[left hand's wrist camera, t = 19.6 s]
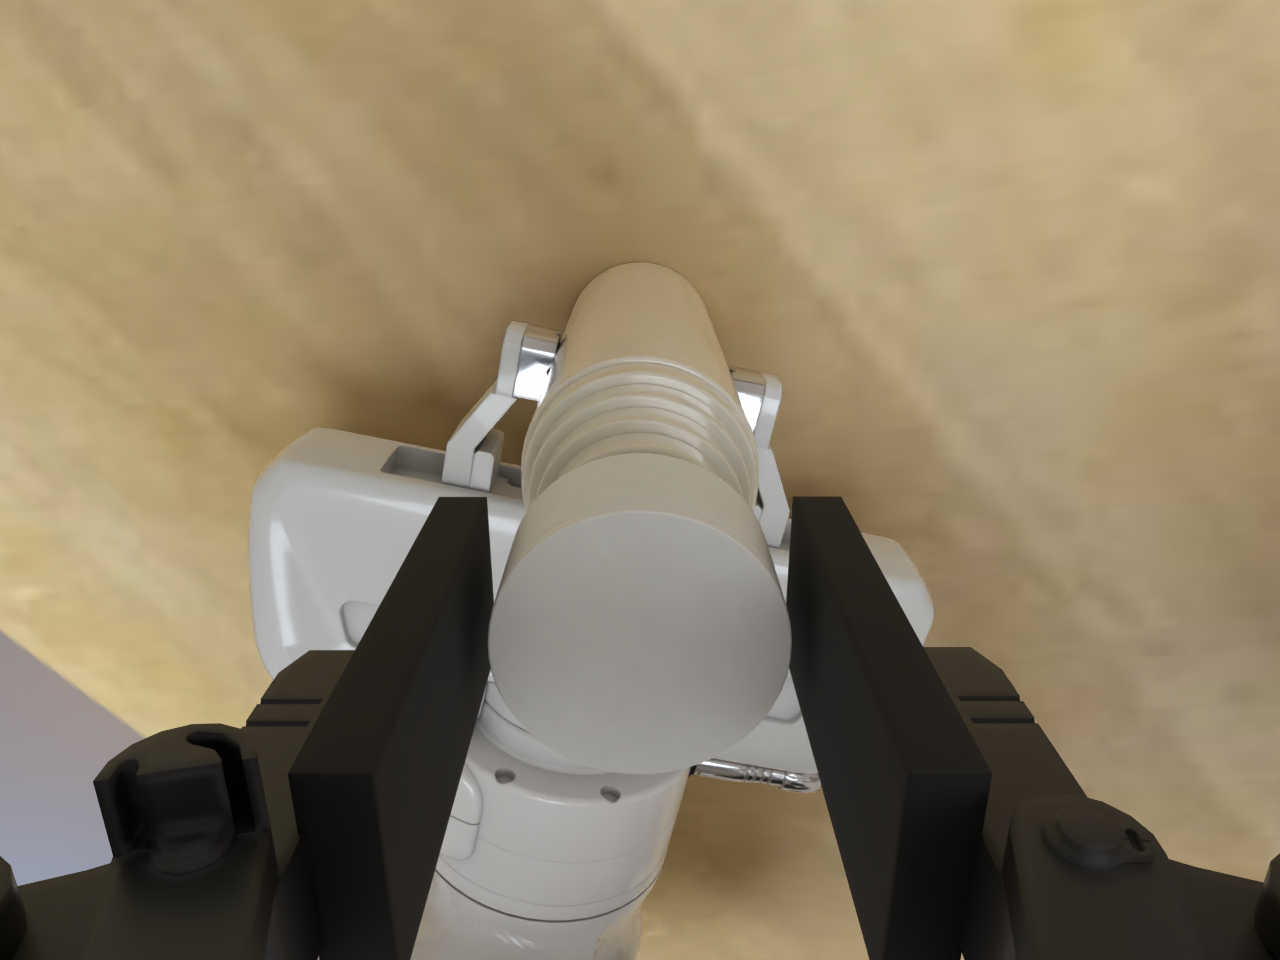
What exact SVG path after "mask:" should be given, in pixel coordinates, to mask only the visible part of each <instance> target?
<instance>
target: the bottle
mask: <svg viewBox="0 0 1280 960" xmlns="http://www.w3.org/2000/svg"><path fill="white" fill-rule="evenodd" d="M630 453H650V454H658V455H666V456H670V457H674V458H678V459H682V460H685V461H688V462H690V463H693V464H696V465H698V466H701V467H702V468H704V469H706V470H708V471H710V472H712V473H713V474H715V475H717V476H718V477H719V478H721V479H722V480H723V481H725V482H726V483H728V484H729V485H730V486H731V487H732V488H733V489H734V490H735V491H736V492H737V493H738V494H739V495H740V496H742V498H743V499H744V500H745V502H746V503H747V504H748V505H749V507H750V508H751V509H752V511H753V512H754V508H755V505H756V499H757V493H758V453H757V446H756V442H755V439H754V435H753V432H752V429H751V426H750V424H749V421H748V418H747V416H746V413H745V410H744V407H743V405H742V402H741V399H740V397H739V394H738V391H737V389H736V386H735V383H734V381H733V378H732V375H731V373H730V370H729V367H728V365H727V362H726V359H725V357H724V354H723V351H722V349H721V346H720V343H719V341H718V338H717V335H716V333H715V330H714V327H713V325H712V322H711V319H710V317H709V314H708V311H707V309H706V306H705V304H704V302H703V300H702V298H701V296H700V295H699V293H698V292H697V291H696V289H695V288H694V287H693V286H692V285H691V284H690V283H689V282H688V281H687V280H686V279H685V278H684V277H682V276H681V275H680V274H678V273H676V272H675V271H673V270H671V269H669V268H666V267H664V266H661V265H657V264H653V263H644V262H635V263H627V264H622V265H619V266H616V267H613V268H611V269H609V270H606V271H605V272H603V273H601V274H600V275H598V276H597V277H596V278H595V279H593V280H592V281H591V282H590V283H589V284H588V285H587V286H586V287H585V288H584V290H583V291H582V292H581V294H580V295H579V297H578V299H577V301H576V303H575V305H574V307H573V310H572V313H571V315H570V318H569V321H568V323H567V326H566V329H565V331H564V334H563V337H562V339H561V342H560V345H559V347H558V350H557V353H556V356H555V358H554V361H553V364H552V366H551V369H550V372H549V374H548V377H547V380H546V382H545V385H544V388H543V390H542V393H541V396H540V399H539V401H538V404H537V407H536V409H535V412H534V415H533V417H532V420H531V423H530V425H529V428H528V431H527V434H526V437H525V440H524V445H523V450H522V459H521V474H522V479H521V485H522V497H523V501H524V506H525V510H526V512H527V510H528V509H529V508H530V506H531V505H532V504H533V502H534V501H535V500H536V499H537V497H538V496H539V495H540V494H541V493H542V492H543V491H544V490H545V489H546V488H548V487H549V486H550V485H551V484H552V483H554V482H555V481H556V480H558V479H559V478H560V477H562V476H563V475H565V474H566V473H568V472H570V471H572V470H574V469H575V468H577V467H579V466H582V465H584V464H587V463H589V462H592V461H594V460H598V459H602V458H605V457H609V456H614V455H622V454H630Z"/></svg>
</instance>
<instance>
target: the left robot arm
mask: <svg viewBox="0 0 1280 960" xmlns="http://www.w3.org/2000/svg"><path fill="white" fill-rule="evenodd" d="M493 605H494V595H493V580H492V565H491V550H490V535H489V520H488V505H487V497H439V498H438V499H437V501H436V503H435V505H434V507H433V509H432V510H431V512H430V514H429V516H428V518H427V520H426V521H425V523H424V525H423V527H422V529H421V530H420V532H419V534H418V536H417V538H416V540H415V541H414V543H413V545H412V547H411V549H410V551H409V552H408V554H407V556H406V558H405V560H404V562H403V563H402V565H401V567H400V569H399V571H398V573H397V574H396V576H395V578H394V580H393V582H392V584H391V585H390V587H389V589H388V591H387V593H386V595H385V596H384V598H383V600H382V602H381V604H380V605H379V607H378V609H377V611H376V613H375V615H374V616H373V618H372V620H371V622H370V624H369V626H368V627H367V629H366V631H365V633H364V635H363V637H362V638H361V640H360V642H359V644H358V646H357V648H356V649H355V650H309V651H308V652H306V653H305V654H304V655H302V656H301V657H299V658H298V659H297V660H295V661H294V662H293V663H291V664H290V665H288V666H287V667H286V668H284V669H283V670H281V671H280V672H279V673H278V674H277V676H276V677H275V679H274V680H273V682H272V683H271V685H270V686H269V688H268V689H267V691H266V692H265V694H264V695H263V697H262V698H261V704H257V706H256V707H255V709H254V710H253V712H252V713H251V715H250V716H249V718H248V719H247V721H246V727H242V728H241V729H239V728H235V727H231V726H228V725H224V724H220V723H219V724H191V725H187V726H183V727H178V728H174V729H170V730H166V731H162V732H159V733H157V734H155V735H152V736H150V737H148V738H146V739H143V740H141V741H139V742H137V743H134V744H132V745H131V746H129V747H128V748H127V749H125V750H124V751H122V752H121V753H120V754H118V755H117V756H115V757H114V758H113V759H111V760H110V761H109V762H108V763H107V764H106V765H105V767H104V768H103V769H102V770H101V772H100V773H99V774H98V776H97V777H96V778H95V779H94V781H93V783H94V787H95V791H96V794H97V798H98V802H99V805H100V809H101V813H102V817H103V820H104V824H105V828H106V831H107V835H108V839H109V842H110V846H111V850H112V854H113V858H112V861H111V863H109V864H106V865H103V866H100V867H96V868H93V869H90V870H86V871H82V872H78V873H73V874H69V875H64V876H60V877H56V878H52V879H47V880H43V881H38V882H34V883H30V884H26V885H21V886H17V884H16V881H15V878H14V875H13V871H12V868H11V865H10V864H8V863H7V862H6V861H5V860H4V859H3V858H2V857H1V856H0V960H317V959H318V956H319V958H320V960H410V959H411V956H412V952H413V948H414V945H415V941H416V937H417V934H418V930H419V927H420V923H421V919H422V916H423V912H424V909H425V905H426V901H427V898H428V894H429V890H430V887H431V883H432V880H433V876H434V872H435V869H436V865H437V861H438V858H439V854H440V851H441V847H442V843H443V840H444V836H445V833H446V829H447V825H448V822H449V818H450V814H451V811H452V807H453V804H454V800H455V796H456V793H457V789H458V786H459V782H460V778H461V775H462V771H463V767H464V764H465V760H466V757H467V753H468V749H469V746H470V742H471V738H472V735H473V731H474V728H475V724H476V720H477V717H478V713H479V710H480V706H481V702H482V699H483V695H484V691H485V688H486V684H487V681H488V677H489V673H490V670H491V667H490V662H489V656H488V642H487V641H488V628H489V621H490V617H491V613H492V608H493ZM786 606H787V610H788V614H789V618H790V622H791V631H792V652H791V661H790V665H789V670H790V673H791V677H792V681H793V684H794V688H795V691H796V695H797V699H798V702H799V706H800V710H801V713H802V717H803V720H804V724H805V728H806V731H807V735H808V739H809V742H810V746H811V749H812V753H813V757H814V760H815V764H816V767H817V771H818V775H819V778H820V782H821V786H822V789H823V793H824V796H825V800H826V804H827V807H828V811H829V814H830V818H831V822H832V825H833V829H834V833H835V836H836V840H837V843H838V847H839V851H840V854H841V858H842V862H843V865H844V869H845V872H846V876H847V880H848V883H849V887H850V890H851V894H852V898H853V901H854V905H855V909H856V912H857V916H858V919H859V923H860V927H861V930H862V934H863V938H864V941H865V945H866V948H867V952H868V956H869V959H870V960H960V958H961V953H962V954H963V957H964V959H965V960H1280V854H1279V855H1277V856H1276V857H1275V858H1274V859H1273V860H1272V861H1271V862H1270V865H1269V868H1268V871H1267V874H1266V878H1265V881H1264V883H1263V882H1258V881H1254V880H1250V879H1245V878H1241V877H1237V876H1232V875H1228V874H1224V873H1219V872H1215V871H1210V870H1206V869H1202V868H1197V867H1193V866H1190V865H1187V864H1183V863H1180V862H1177V861H1173V860H1170V859H1168V857H1167V855H1166V853H1165V852H1164V850H1163V849H1162V847H1161V846H1160V844H1159V843H1158V841H1157V840H1156V838H1155V836H1154V835H1153V834H1152V833H1151V832H1150V831H1148V830H1147V829H1146V828H1145V827H1143V826H1142V825H1141V824H1140V823H1139V822H1137V821H1136V820H1135V819H1134V818H1132V817H1131V816H1130V815H1128V814H1126V813H1124V812H1122V811H1120V810H1118V809H1116V808H1114V807H1112V806H1110V805H1108V804H1106V803H1104V802H1101V801H1098V800H1094V799H1090V798H1088V797H1087V796H1086V794H1085V793H1084V791H1083V790H1082V789H1081V787H1080V786H1079V784H1078V783H1077V781H1076V780H1075V778H1074V777H1073V775H1072V774H1071V772H1070V771H1069V769H1068V768H1067V766H1066V765H1065V763H1064V762H1063V760H1062V759H1061V757H1060V756H1059V754H1058V753H1057V751H1056V750H1055V748H1054V747H1053V745H1052V744H1051V742H1050V741H1049V739H1048V738H1047V736H1046V735H1045V733H1044V732H1043V730H1042V729H1041V727H1040V726H1039V724H1035V722H1034V717H1033V715H1032V714H1031V712H1030V711H1029V709H1028V708H1027V706H1026V705H1025V703H1024V702H1023V701H1020V696H1019V694H1018V693H1017V691H1016V690H1015V688H1014V687H1013V685H1012V684H1011V682H1010V681H1009V679H1008V678H1007V676H1006V675H1005V673H1004V672H1003V670H1002V669H1000V668H999V667H997V666H996V665H995V664H993V663H992V662H991V661H989V660H988V659H986V658H985V657H984V656H982V655H981V654H979V653H978V652H977V651H975V650H974V649H972V648H971V647H923V646H922V644H921V642H920V640H919V638H918V637H917V635H916V633H915V631H914V629H913V627H912V626H911V624H910V622H909V620H908V618H907V616H906V615H905V613H904V611H903V609H902V607H901V606H900V604H899V602H898V600H897V598H896V596H895V595H894V593H893V591H892V589H891V587H890V585H889V584H888V582H887V580H886V578H885V576H884V574H883V573H882V571H881V569H880V567H879V565H878V563H877V562H876V560H875V558H874V556H873V554H872V552H871V551H870V549H869V547H868V545H867V543H866V541H865V540H864V538H863V536H862V534H861V532H860V531H859V529H858V527H857V525H856V523H855V521H854V520H853V518H852V516H851V514H850V512H849V510H848V509H847V507H846V505H845V503H844V501H843V499H842V498H841V497H793V504H792V520H791V535H790V550H789V565H788V580H787V595H786Z"/></svg>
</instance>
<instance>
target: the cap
mask: <svg viewBox="0 0 1280 960" xmlns="http://www.w3.org/2000/svg"><path fill="white" fill-rule="evenodd" d="M487 642H488V656H489V662H490V667H491V671H492V675H493V678H494V681H495V683H496V686H497V688H498V691H499V693H500V695H501V697H502V698H503V700H504V702H505V704H506V706H507V707H508V709H509V710H510V711H511V713H512V714H513V715H514V717H515V718H516V719H517V721H518V722H519V723H520V724H521V725H522V726H523V727H524V728H525V729H526V730H527V731H528V732H529V733H530V734H531V735H532V736H533V737H535V738H536V739H537V740H539V741H540V742H541V743H542V744H544V745H545V746H547V747H548V748H550V749H551V750H553V751H555V752H556V753H558V754H560V755H562V756H564V757H566V758H568V759H570V760H572V761H575V762H577V763H580V764H583V765H586V766H589V767H592V768H595V769H600V770H604V771H609V772H615V773H625V774H655V773H664V772H671V771H675V770H680V769H684V768H688V767H691V766H694V765H697V764H700V763H703V762H705V761H707V760H709V759H712V758H714V757H716V756H718V755H720V754H722V753H723V752H725V751H727V750H728V749H730V748H731V747H733V746H735V745H736V744H737V743H739V742H740V741H741V740H742V739H744V738H745V737H746V736H747V735H749V734H750V733H751V732H752V731H753V730H754V729H755V728H756V727H757V726H758V725H759V724H760V723H761V722H762V720H763V719H764V718H765V716H766V715H767V714H768V712H769V711H770V710H771V708H772V707H773V705H774V703H775V702H776V700H777V698H778V696H779V694H780V692H781V690H782V688H783V685H784V683H785V680H786V677H787V674H788V670H789V665H790V661H791V652H792V631H791V622H790V618H789V614H788V610H787V606H786V602H785V599H784V596H783V593H782V589H781V586H780V583H779V580H778V576H777V573H776V570H775V567H774V563H773V560H772V557H771V554H770V551H769V547H768V544H767V541H766V538H765V535H764V533H763V530H762V528H761V525H760V523H759V521H758V519H757V518H756V516H755V514H754V513H753V511H752V509H751V508H750V507H749V505H748V504H747V503H746V502H745V500H744V499H743V498H742V496H740V495H739V494H738V493H737V492H736V491H735V490H734V489H733V488H732V487H731V486H730V485H729V484H728V483H726V482H725V481H723V480H722V479H721V478H719V477H718V476H717V475H715V474H713V473H712V472H710V471H708V470H706V469H704V468H702V467H701V466H698V465H696V464H693V463H690V462H688V461H685V460H682V459H678V458H674V457H670V456H666V455H658V454H650V453H630V454H622V455H614V456H609V457H605V458H602V459H598V460H594V461H592V462H589V463H587V464H584V465H582V466H579V467H577V468H575V469H574V470H572V471H570V472H568V473H566V474H565V475H563V476H562V477H560V478H559V479H558V480H556V481H555V482H554V483H552V484H551V485H550V486H549V487H548V488H546V489H545V490H544V491H543V492H542V493H541V494H540V495H539V496H538V497H537V499H536V500H535V501H534V502H533V504H532V505H531V506H530V508H529V509H528V510H527V512H526V514H525V515H524V517H523V519H522V521H521V522H520V524H519V527H518V529H517V532H516V534H515V537H514V540H513V543H512V546H511V550H510V553H509V556H508V559H507V563H506V566H505V569H504V572H503V576H502V579H501V582H500V585H499V589H498V592H497V595H496V598H495V602H494V605H493V608H492V613H491V617H490V621H489V628H488V641H487Z"/></svg>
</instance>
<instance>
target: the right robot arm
mask: <svg viewBox="0 0 1280 960" xmlns="http://www.w3.org/2000/svg"><path fill="white" fill-rule="evenodd" d="M561 334H562V331H558V330H554V329H549V328H545V327H540V326H536V325H532V324H528V323H524V322H518V321H511V323H510V324H509V326H508V327H507V330H506V334H505V337H504V341H503V345H502V352H501V358H500V364H499V371H498V377H497V380H496V381H495V382H494V383H493V384H492V386H491V387H490V388H489V389H488V390H487V391H486V393H485V394H484V395H483V396H482V397H481V398H480V400H479V401H478V402H477V403H476V404H475V405H474V407H473V408H472V409H471V410H470V411H469V412H468V414H467V415H466V416H465V417H464V418H463V419H462V420H461V422H460V423H459V425H458V426H457V428H456V430H455V431H454V433H453V435H452V436H451V438H450V439H449V441H448V443H447V446H446V451H444V450H439V449H433V448H428V447H423V446H418V445H413V444H408V443H403V442H398V441H393V440H388V439H382V438H377V437H372V436H367V435H362V434H357V433H352V432H347V431H342V430H337V429H332V428H325V427H317V428H314V429H311V430H309V431H308V432H306V433H305V434H303V435H302V436H301V437H299V438H298V439H296V440H295V441H293V442H292V443H291V444H289V445H288V446H287V447H285V448H284V449H283V450H282V451H280V452H279V453H278V454H277V455H276V456H275V457H274V458H273V459H272V460H271V461H270V462H269V463H268V464H267V465H266V466H265V468H264V469H263V470H262V472H261V473H260V474H259V476H258V478H257V480H256V482H255V484H254V487H253V491H252V495H251V504H250V515H249V579H250V597H251V608H252V618H253V627H254V635H255V640H256V645H257V648H258V652H259V655H260V658H261V660H262V663H263V665H264V667H265V669H266V670H267V672H268V674H269V675H270V677H271V678H272V679H273V680H274V679H275V677H276V676H277V674H278V673H279V672H280V671H281V670H283V669H284V668H286V667H287V666H288V665H290V664H291V663H293V662H294V661H295V660H297V659H298V658H299V657H301V656H302V655H304V654H305V653H306V652H308V651H309V650H355V649H356V648H357V646H358V644H359V642H360V640H361V638H362V637H363V635H364V633H365V631H366V629H367V627H368V626H369V624H370V622H371V620H372V618H373V616H374V615H375V613H376V611H377V609H378V607H379V605H380V604H381V602H382V600H383V598H384V596H385V595H386V593H387V591H388V589H389V587H390V585H391V584H392V582H393V580H394V578H395V576H396V574H397V573H398V571H399V569H400V567H401V565H402V563H403V562H404V560H405V558H406V556H407V554H408V552H409V551H410V549H411V547H412V545H413V543H414V541H415V540H416V538H417V536H418V534H419V532H420V530H421V529H422V527H423V525H424V523H425V521H426V520H427V518H428V516H429V514H430V512H431V510H432V509H433V507H434V505H435V503H436V501H437V499H438V498H439V497H487V505H488V520H489V535H490V550H491V565H492V580H493V595H494V602H495V598H496V595H497V592H498V589H499V585H500V582H501V579H502V576H503V572H504V569H505V566H506V563H507V559H508V556H509V553H510V550H511V546H512V543H513V540H514V537H515V534H516V532H517V529H518V527H519V524H520V522H521V521H522V519H523V517H524V515H525V514H526V510H525V506H524V501H523V497H522V485H521V479H522V474H521V466H520V465H515V464H510V463H505V462H500V461H501V455H502V448H503V441H504V433H503V432H502V431H500V430H496V429H492V428H493V427H494V426H495V424H496V423H497V422H498V421H499V420H500V419H501V417H502V416H503V415H504V414H505V413H506V412H507V410H508V409H509V408H510V407H511V406H512V405H513V403H514V402H515V401H516V400H517V399H518V398H524V399H529V400H535V401H539V399H540V396H541V393H542V390H543V388H544V385H545V382H546V380H547V377H548V374H549V372H550V369H551V366H552V364H553V361H554V358H555V356H556V353H557V350H558V347H559V345H560V340H561ZM728 367H729V370H730V373H731V375H732V378H733V381H734V383H735V386H736V389H737V391H738V394H739V397H740V399H741V402H742V405H743V407H744V410H745V413H746V416H747V418H748V421H749V424H750V426H751V429H752V432H753V435H754V439H755V442H756V446H757V453H758V493H757V499H756V505H755V508H754V512H753V513H754V514H755V516H756V518H757V519H758V521H759V523H760V525H761V528H762V530H763V533H764V535H765V538H766V541H767V544H768V547H769V551H770V554H771V557H772V560H773V563H774V567H775V570H776V573H777V576H778V580H779V583H780V586H781V589H782V593H783V596H784V599H785V602H786V595H787V580H788V565H789V550H790V535H791V520H792V519H790V518H788V517H789V513H790V510H789V507H788V503H787V500H786V496H785V493H784V489H783V485H782V482H781V478H780V475H779V471H778V468H777V464H776V461H775V457H774V454H773V450H772V448H771V445H770V439H771V435H772V432H773V428H774V424H775V421H776V417H777V413H778V410H779V406H780V402H781V398H782V383H781V382H780V380H779V378H778V376H777V375H773V374H768V373H763V372H758V371H753V370H748V369H743V368H738V367H733V366H728ZM861 534H862V536H863V538H864V540H865V541H866V543H867V545H868V547H869V549H870V551H871V552H872V554H873V556H874V558H875V560H876V562H877V563H878V565H879V567H880V569H881V571H882V573H883V574H884V576H885V578H886V580H887V582H888V584H889V585H890V587H891V589H892V591H893V593H894V595H895V596H896V598H897V600H898V602H899V604H900V606H901V607H902V609H903V611H904V613H905V615H906V616H907V618H908V620H909V622H910V624H911V626H912V627H913V629H914V631H915V633H916V635H917V637H918V638H919V640H920V642H921V644H922V646H923V645H924V643H925V640H926V638H927V636H928V633H929V631H930V628H931V626H932V622H933V618H934V606H933V601H932V598H931V595H930V593H929V590H928V588H927V586H926V584H925V582H924V580H923V578H922V576H921V574H920V572H919V571H918V569H917V568H916V566H915V564H914V563H913V562H912V560H911V559H910V557H909V556H908V555H907V553H906V552H905V550H904V549H903V548H902V547H901V546H900V545H899V544H898V543H897V542H896V541H894V540H893V539H890V538H886V537H883V536H877V535H872V534H867V533H862V532H861ZM690 775H696V776H701V777H707V778H713V779H719V780H725V781H730V782H739V783H743V782H744V783H757V784H758V783H760V784H765V785H766V784H767V785H771V786H776V787H778V788H779V789H781V790H784V791H788V792H794V793H817V792H818V791H819V789H820V787H821V782H820V778H819V775H818V771H817V767H816V764H815V760H814V757H813V753H812V749H811V746H810V742H809V739H808V735H807V731H806V728H805V724H804V720H803V717H802V713H801V710H800V706H799V702H798V699H797V695H796V691H795V688H794V684H793V681H792V677H791V673H790V670H788V674H787V677H786V680H785V683H784V685H783V688H782V690H781V692H780V694H779V696H778V698H777V700H776V702H775V703H774V705H773V707H772V708H771V710H770V711H769V712H768V714H767V715H766V716H765V718H764V719H763V720H762V722H761V723H760V724H759V725H758V726H757V727H756V728H755V729H754V730H753V731H752V732H751V733H750V734H749V735H747V736H746V737H745V738H744V739H742V740H741V741H740V742H739V743H737V744H736V745H735V746H733V747H731V748H730V749H728V750H727V751H725V752H723V753H722V754H720V755H718V756H716V757H714V758H712V759H709V760H707V761H705V762H703V763H700V764H697V765H694V766H691V767H688V768H684V769H680V770H675V771H671V772H664V773H655V774H625V773H615V772H609V771H604V770H600V769H595V768H592V767H589V766H586V765H583V764H580V763H577V762H575V761H572V760H570V759H568V758H566V757H564V756H562V755H560V754H558V753H556V752H555V751H553V750H551V749H550V748H548V747H547V746H545V745H544V744H542V743H541V742H540V741H539V740H537V739H536V738H535V737H533V736H532V735H531V734H530V733H529V732H528V731H527V730H526V729H525V728H524V727H523V726H522V725H521V724H520V723H519V722H518V721H517V719H516V718H515V717H514V715H513V714H512V713H511V711H510V710H509V709H508V707H507V706H506V704H505V702H504V700H503V698H502V697H501V695H500V693H499V691H498V688H497V686H496V683H495V681H494V678H493V675H492V671H491V670H490V673H489V677H488V681H487V684H486V688H485V691H484V695H483V699H482V702H481V706H480V710H479V713H478V717H477V720H476V724H475V728H474V731H473V735H472V738H471V742H470V746H469V749H468V753H467V757H466V760H465V764H464V767H463V771H462V775H461V778H460V782H459V786H458V789H457V793H456V796H455V800H454V804H453V807H452V811H451V814H450V818H449V822H448V825H447V829H446V833H445V836H444V840H443V843H442V847H441V851H440V854H439V858H438V861H437V865H436V869H435V872H434V876H433V880H432V883H431V887H430V890H429V894H428V898H427V901H426V905H425V909H424V912H423V916H422V919H421V923H420V927H419V930H418V934H417V937H416V941H415V945H414V948H413V952H412V956H411V959H410V960H636V959H637V956H638V952H639V946H640V941H641V933H642V917H641V903H642V902H643V901H644V899H645V898H646V897H647V895H648V894H649V892H650V891H651V889H652V888H653V886H654V885H655V883H656V881H657V879H658V876H659V874H660V872H661V870H662V867H663V863H664V860H665V856H666V853H667V849H668V846H669V842H670V839H671V835H672V832H673V828H674V825H675V821H676V818H677V814H678V811H679V807H680V804H681V801H682V797H683V794H684V790H685V786H686V782H687V779H688V777H689V776H690Z"/></svg>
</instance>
